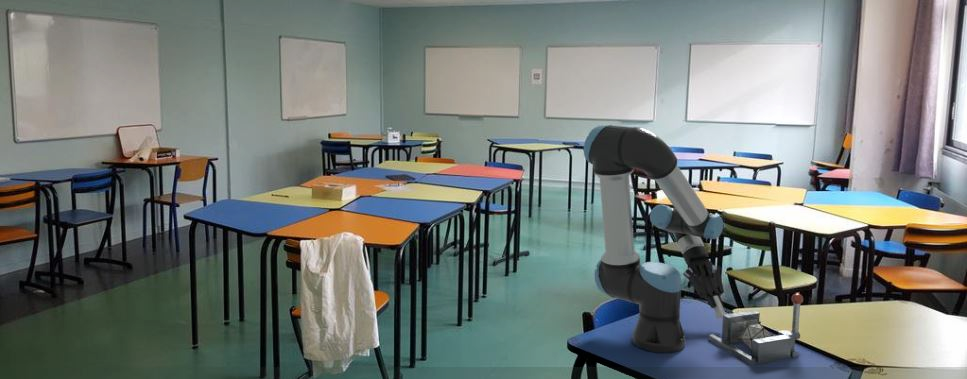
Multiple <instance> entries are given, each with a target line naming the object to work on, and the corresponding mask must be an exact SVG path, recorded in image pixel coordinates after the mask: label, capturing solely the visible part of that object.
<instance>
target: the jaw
mask: <svg viewBox="0 0 967 379" xmlns="http://www.w3.org/2000/svg"><path fill="white" fill-rule="evenodd" d="M760 315H761V314H760V312H758V311H757V310H748V311H740V312H732V313H726V314H725V315H723V318H722V325H721V326H722V327H721V339H722V340H724V341H725V342H727V343H729V344H731V345H735V344H742V343H744V342H743V341H742V340H738V339H739V338H742V335H743V333H744V331H745V329H744V328H746V327H747V326H746V324H747V325H748V326H749V325H755V324H759V322H760ZM744 344H745V343H744Z"/></svg>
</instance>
